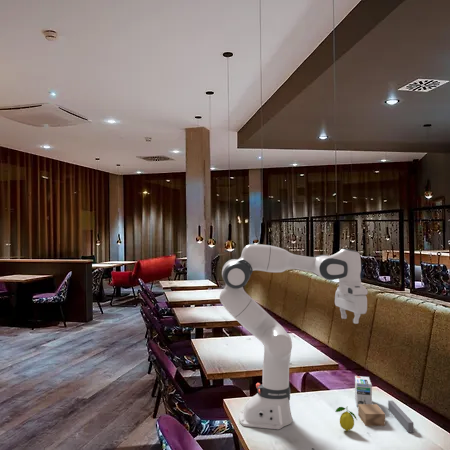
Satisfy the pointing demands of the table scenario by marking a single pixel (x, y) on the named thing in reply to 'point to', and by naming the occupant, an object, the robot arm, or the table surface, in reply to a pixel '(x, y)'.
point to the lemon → (346, 419)
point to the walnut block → (371, 415)
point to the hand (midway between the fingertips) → (349, 320)
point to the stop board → (400, 416)
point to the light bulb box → (363, 390)
